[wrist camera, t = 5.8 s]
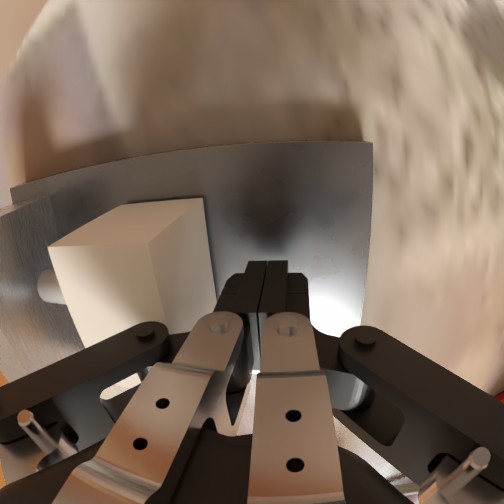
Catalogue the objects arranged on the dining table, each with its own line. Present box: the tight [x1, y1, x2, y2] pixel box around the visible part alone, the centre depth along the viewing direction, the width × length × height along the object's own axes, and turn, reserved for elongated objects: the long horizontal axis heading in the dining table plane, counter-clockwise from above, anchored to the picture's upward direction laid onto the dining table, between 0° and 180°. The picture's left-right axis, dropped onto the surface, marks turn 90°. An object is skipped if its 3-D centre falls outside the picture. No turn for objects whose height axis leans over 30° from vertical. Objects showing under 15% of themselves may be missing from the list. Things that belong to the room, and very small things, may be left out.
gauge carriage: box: [37, 198, 217, 388], centre depth 12 cm, size 10×8×5 cm
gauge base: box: [0, 140, 373, 383], centre depth 12 cm, size 12×20×8 cm, turn 94°
